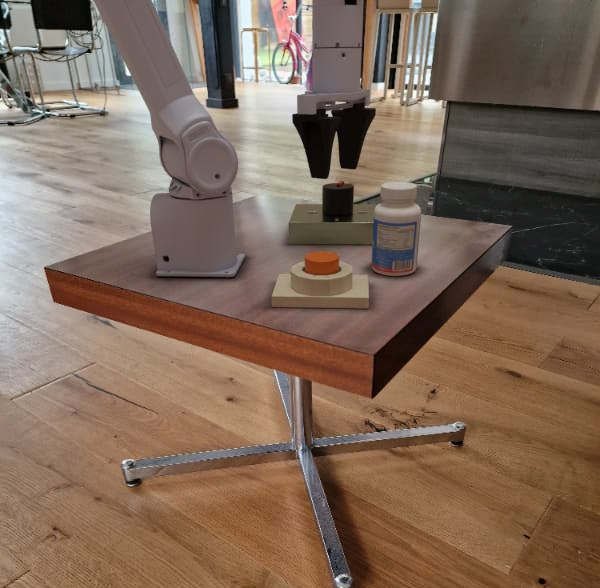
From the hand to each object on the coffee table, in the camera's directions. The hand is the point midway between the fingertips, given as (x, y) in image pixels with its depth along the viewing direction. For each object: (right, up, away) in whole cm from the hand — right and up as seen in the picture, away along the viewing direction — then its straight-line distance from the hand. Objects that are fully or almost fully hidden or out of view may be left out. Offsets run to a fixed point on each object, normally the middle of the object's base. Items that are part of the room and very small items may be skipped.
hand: (334, 173), depth 73 cm
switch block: (-2, -18, -11) cm, 21 cm away
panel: (+1, -5, +10) cm, 11 cm away
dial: (+1, -2, +8) cm, 9 cm away
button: (-2, -15, -12) cm, 20 cm away
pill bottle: (+7, -13, -4) cm, 16 cm away
